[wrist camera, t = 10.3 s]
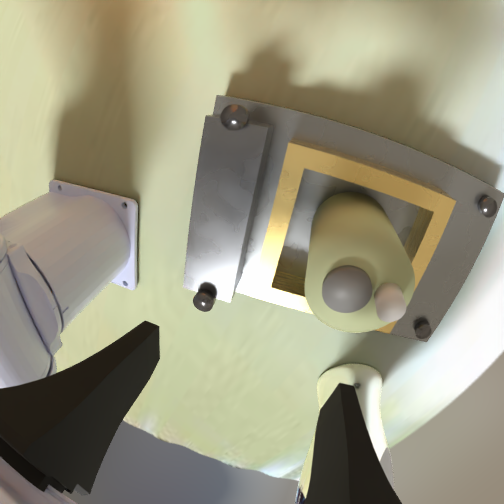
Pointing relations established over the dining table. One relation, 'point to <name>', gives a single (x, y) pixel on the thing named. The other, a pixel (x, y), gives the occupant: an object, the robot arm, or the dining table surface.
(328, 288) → the spout can
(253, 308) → the dining table surface
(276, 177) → the grey metal fixture plate
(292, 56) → the dining table surface
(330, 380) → the beer glass
